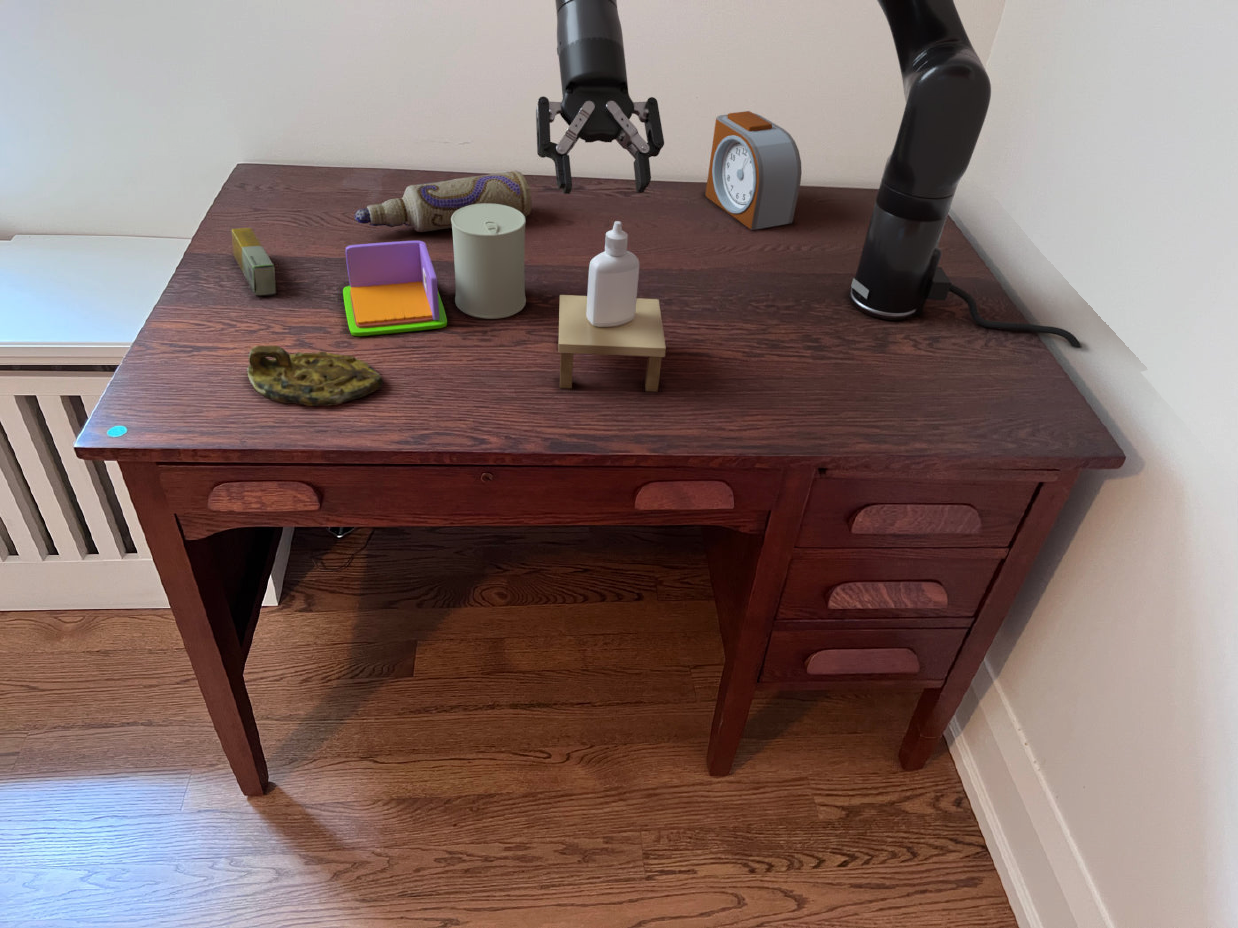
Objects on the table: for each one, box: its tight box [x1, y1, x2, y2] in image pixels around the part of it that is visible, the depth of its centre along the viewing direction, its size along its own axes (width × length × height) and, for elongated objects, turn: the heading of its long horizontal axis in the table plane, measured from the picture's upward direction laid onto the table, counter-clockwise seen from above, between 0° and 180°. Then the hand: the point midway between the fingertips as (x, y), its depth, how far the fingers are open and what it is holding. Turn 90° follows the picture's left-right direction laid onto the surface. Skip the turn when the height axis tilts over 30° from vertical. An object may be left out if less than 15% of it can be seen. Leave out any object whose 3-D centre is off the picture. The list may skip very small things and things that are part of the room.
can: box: [451, 203, 527, 320], centre depth 112 cm, size 9×9×12 cm
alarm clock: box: [705, 110, 803, 231], centre depth 141 cm, size 15×8×14 cm, turn 28°
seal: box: [246, 345, 384, 407], centre depth 98 cm, size 9×5×15 cm
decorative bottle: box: [354, 170, 533, 233], centre depth 130 cm, size 26×8×7 cm, turn 116°
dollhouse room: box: [342, 240, 448, 337], centre depth 111 cm, size 12×12×7 cm
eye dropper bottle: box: [586, 220, 640, 327], centre depth 99 cm, size 4×6×12 cm
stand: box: [557, 294, 667, 393], centre depth 105 cm, size 12×11×6 cm
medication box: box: [230, 227, 277, 297], centre depth 115 cm, size 12×3×4 cm, turn 31°
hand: (605, 190), depth 100 cm, fingers open, 8 cm apart
